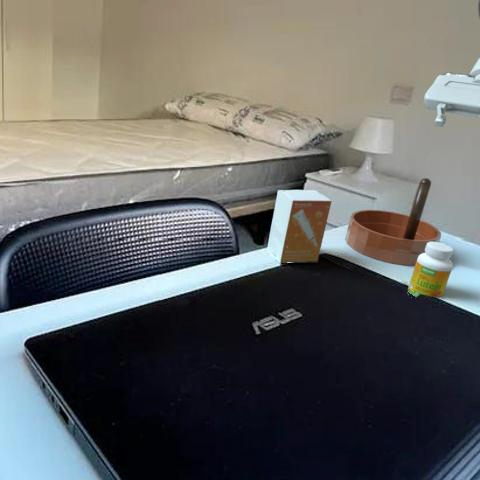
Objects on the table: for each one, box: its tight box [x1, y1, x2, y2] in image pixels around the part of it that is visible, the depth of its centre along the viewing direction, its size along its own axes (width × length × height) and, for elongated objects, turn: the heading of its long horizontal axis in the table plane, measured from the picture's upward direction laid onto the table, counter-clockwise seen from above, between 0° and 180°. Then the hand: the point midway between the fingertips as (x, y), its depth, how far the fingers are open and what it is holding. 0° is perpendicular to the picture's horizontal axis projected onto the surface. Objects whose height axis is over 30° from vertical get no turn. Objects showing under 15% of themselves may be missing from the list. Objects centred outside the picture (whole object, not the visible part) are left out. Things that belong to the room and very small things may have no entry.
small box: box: [266, 189, 332, 264], centre depth 95 cm, size 8×6×13 cm
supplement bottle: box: [407, 241, 454, 298], centre depth 85 cm, size 5×5×10 cm
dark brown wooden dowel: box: [403, 177, 432, 240], centre depth 99 cm, size 5×5×16 cm
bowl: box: [344, 209, 442, 267], centre depth 104 cm, size 17×17×6 cm
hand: (462, 128), depth 101 cm, fingers open, 8 cm apart
